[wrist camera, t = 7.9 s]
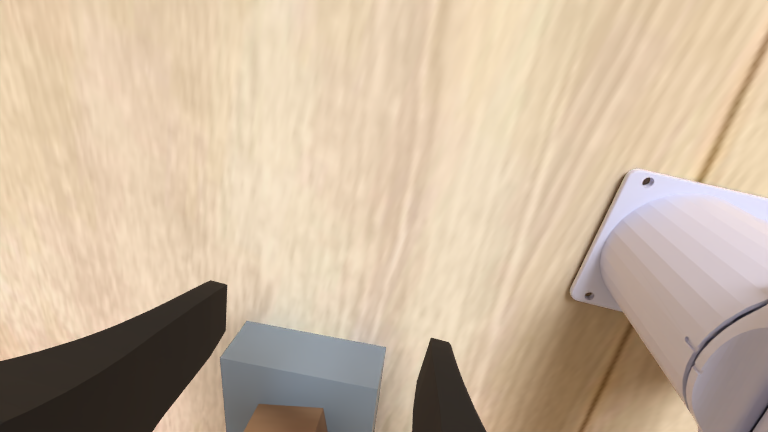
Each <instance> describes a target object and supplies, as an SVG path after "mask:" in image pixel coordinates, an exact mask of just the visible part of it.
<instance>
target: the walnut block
mask: <svg viewBox="0 0 768 432" xmlns="http://www.w3.org/2000/svg"><path fill="white" fill-rule="evenodd" d="M244 432H328V431H327V425H326V420H325V414H324V409H323V408H316V407H301V406H285V405H269V404H258V406H257V408H256V409H255V411H254V413H253V415H252V417H251V419H250V421H249V422H248V424H247V426H246V428H245V430H244Z"/></svg>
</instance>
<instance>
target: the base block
mask: <svg viewBox="0 0 768 432" xmlns="http://www.w3.org/2000/svg"><path fill="white" fill-rule="evenodd" d="M385 351H386V347H381V346H376V345H371V344H365V343H360V342H355V341H350V340H344V339H339V338H334V337H329V336H323V335H318V334H313V333H307V332H302V331H297V330H292V329H286V328H281V327H276V326H270V325H265V324H260V323H255V322H249V321H246V323H245V324H244V326H243V327H242V328H241V330H240V331H239V333H238V334H237V335H236V337H235V338H234V339H233V341H232V342H231V344H230V345H229V346H228V348H227V349H226V350H225V352H224V353H223V355H222V356H221V357H220V364H221V376H222V387H223V398H224V410H225V421H226V432H244V430H245V428H246V426H247V424H248V422H249V421H250V419H251V417H252V415H253V413H254V411H255V409H256V408H257V406H258V404H269V405H285V406H301V407H316V408H323V409H324V414H325V420H326V425H327V431H328V432H374V429H375V422H376V415H377V407H378V400H379V393H380V386H381V379H382V372H383V365H384V358H385Z"/></svg>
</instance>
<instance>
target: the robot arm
mask: <svg viewBox="0 0 768 432" xmlns="http://www.w3.org/2000/svg"><path fill="white" fill-rule="evenodd" d="M646 178H650V182H649V183H648V184H646V185H642V182H643V180H644V179H646ZM589 292H592V294H591V295H589V296H585V294H586V293H589ZM570 294H571V296H572V298H573V299H574V300H577V301H580V302H584V303H589V304H593V305H597V306H601V307H605V308H609V309H613V310H617V311H621V312H623V313H624V314H625V316H626V317H627V319H628V320H629V322H630V323H631V325H632V326H633V328H634V329H635V330H636V332H637V333H638V335H639V336H640V338H641V339H642V341H643V342H644V344H645V345H646V347H647V348H648V350H649V351H650V353H651V354H652V356H653V357H654V359H655V360H656V362H657V363H658V365H659V366H660V368H661V369H662V371H663V372H664V374H665V375H666V377H667V378H668V380H669V381H670V383H671V384H672V386H673V387H674V389H675V390H676V392H677V393H678V395H679V396H680V398H681V399H682V401H683V402H684V404H685V405H686V407H687V408H688V410H689V411H690V413H691V414H692V416H693V418H694V419H695V421H696V423H697V426H698V432H768V198H765V197H760V196H756V195H752V194H747V193H743V192H739V191H734V190H730V189H726V188H721V187H717V186H713V185H708V184H704V183H699V182H695V181H691V180H686V179H682V178H678V177H673V176H669V175H665V174H660V173H656V172H652V171H647V170H643V169H632V170H630V171H629V172H627V174H626V175H625V177H624V179H623V181H622V183H621V185H620V187H619V189H618V191H617V193H616V195H615V197H614V199H613V201H612V204H611V206H610V208H609V210H608V212H607V214H606V216H605V218H604V220H603V222H602V224H601V226H600V228H599V230H598V232H597V234H596V236H595V239H594V241H593V243H592V245H591V247H590V249H589V251H588V253H587V255H586V257H585V259H584V261H583V263H582V265H581V267H580V269H579V271H578V274H577V276H576V278H575V280H574V282H573V284H572V286H571V288H570ZM226 304H227V285H226V284H222V283H219V282H215V281H211V280H210V281H208V282H206V283H204V284H202V285H200V286H198V287H196V288H194V289H192V290H190V291H188V292H186V293H184V294H182V295H180V296H178V297H176V298H174V299H172V300H170V301H168V302H166V303H164V304H162V305H160V306H158V307H156V308H154V309H152V310H150V311H147V312H145V313H143V314H141V315H138V316H136V317H134V318H132V319H129V320H127V321H125V322H123V323H120V324H118V325H115V326H113V327H111V328H108V329H105V330H103V331H100V332H97V333H95V334H92V335H89V336H86V337H84V338H81V339H78V340H75V341H72V342H68V343H65V344H62V345H59V346H55V347H52V348H49V349H45V350H42V351H39V352H35V353H32V354H28V355H24V356H20V357H16V358H12V359H8V360H4V361H0V432H152V431H153V430H154V428H155V427H156V425H157V424H158V423H159V421H160V420H161V419H162V417H163V416H164V414H165V413H166V412H167V411H168V409H169V408H170V407H171V406H172V404H173V403H174V402H175V400H176V399H177V398H178V397H179V395H180V394H181V393H182V392H183V390H184V389H185V388H186V387H187V385H188V384H189V383H190V382H191V380H192V379H193V378H194V376H195V375H196V374H197V373H198V371H199V370H200V369H201V367H202V366H203V365H204V364H205V362H206V361H207V360H208V358H209V357H210V356H211V354H212V352H213V351H214V349H215V348H216V346H217V344H218V343H219V341H220V339H221V338H222V336H223V334H224V332H225V331H226ZM412 432H486V430H485V428H484V426H483V424H482V422H481V420H480V418H479V416H478V414H477V412H476V410H475V408H474V406H473V403H472V401H471V399H470V396H469V394H468V392H467V389H466V387H465V385H464V382H463V379H462V377H461V374H460V371H459V369H458V366H457V363H456V360H455V357H454V354H453V351H452V347H451V345H450V343H449V342H446V341H442V340H438V339H434V338H431V339H430V342H429V346H428V349H427V352H426V355H425V358H424V361H423V364H422V367H421V370H420V373H419V377H418V380H417V385H416V392H415V399H414V407H413V425H412Z"/></svg>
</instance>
